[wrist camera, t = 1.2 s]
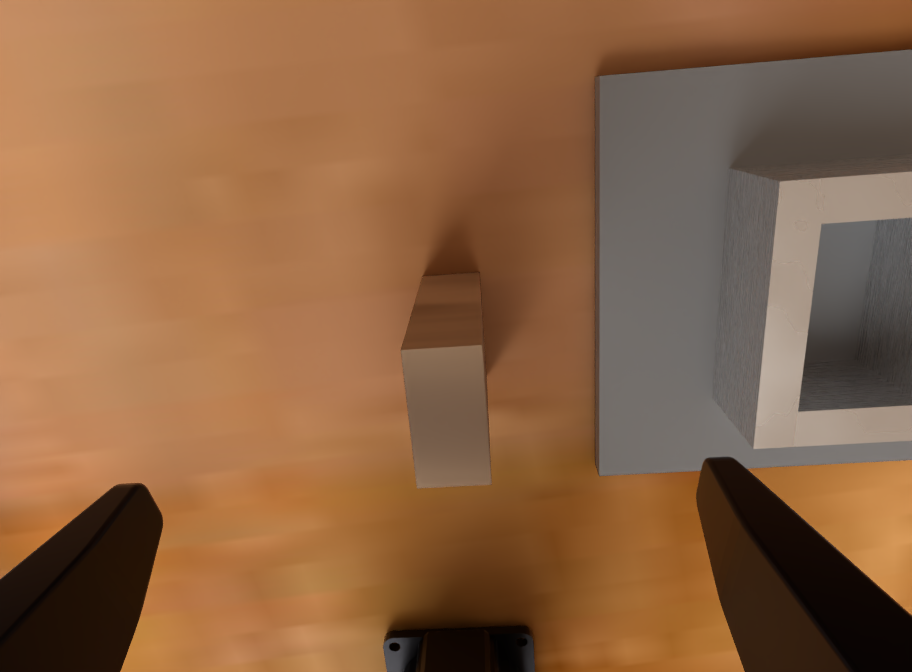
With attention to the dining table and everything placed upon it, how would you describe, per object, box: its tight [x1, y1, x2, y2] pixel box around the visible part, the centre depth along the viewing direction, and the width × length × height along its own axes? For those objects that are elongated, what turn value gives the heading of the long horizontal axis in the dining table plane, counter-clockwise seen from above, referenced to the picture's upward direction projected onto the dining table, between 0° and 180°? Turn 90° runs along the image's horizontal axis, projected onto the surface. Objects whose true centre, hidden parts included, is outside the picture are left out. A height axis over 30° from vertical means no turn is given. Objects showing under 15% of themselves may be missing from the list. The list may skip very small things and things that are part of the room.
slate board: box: [595, 49, 912, 476], centre depth 21 cm, size 14×14×1 cm
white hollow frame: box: [712, 154, 912, 449], centre depth 19 cm, size 8×6×4 cm
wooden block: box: [401, 272, 492, 488], centre depth 19 cm, size 4×2×7 cm, turn 4°
